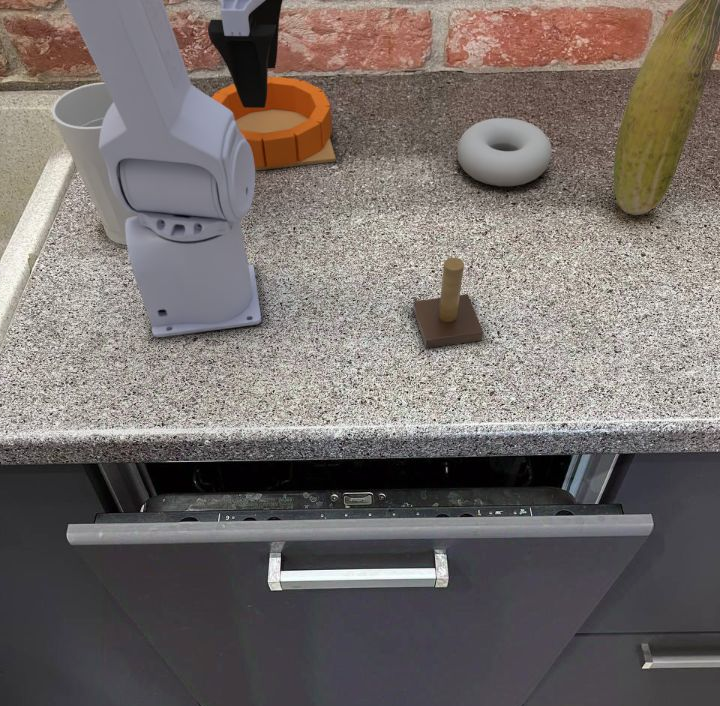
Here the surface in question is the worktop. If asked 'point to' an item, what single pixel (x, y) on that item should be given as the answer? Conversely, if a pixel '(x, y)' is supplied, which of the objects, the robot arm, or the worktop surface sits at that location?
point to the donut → (504, 152)
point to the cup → (91, 151)
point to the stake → (448, 312)
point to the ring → (292, 141)
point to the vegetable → (664, 105)
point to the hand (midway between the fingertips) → (260, 85)
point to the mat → (282, 121)
